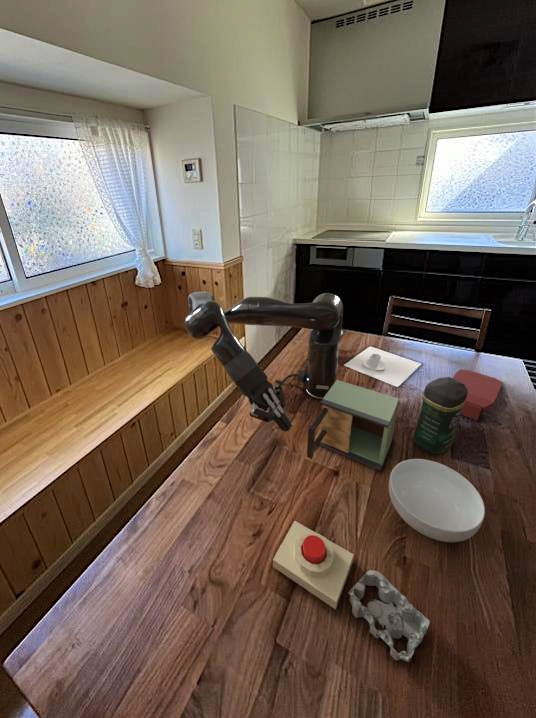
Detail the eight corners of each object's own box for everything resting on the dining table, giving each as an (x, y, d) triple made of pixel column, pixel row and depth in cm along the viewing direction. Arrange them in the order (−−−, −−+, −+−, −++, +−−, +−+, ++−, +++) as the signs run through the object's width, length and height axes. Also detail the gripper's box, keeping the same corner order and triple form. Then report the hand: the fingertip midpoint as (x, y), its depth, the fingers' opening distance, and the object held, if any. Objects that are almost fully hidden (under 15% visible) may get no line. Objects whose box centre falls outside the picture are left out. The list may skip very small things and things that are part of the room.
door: (304, 465, 82) (306, 427, 77) (320, 439, 90) (323, 403, 85) (334, 479, 78) (338, 439, 73) (348, 451, 86) (353, 413, 81)
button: (298, 555, 61) (299, 549, 60) (308, 537, 64) (308, 530, 63) (319, 568, 59) (320, 562, 58) (328, 549, 61) (329, 542, 61)
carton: (457, 380, 118) (437, 405, 101) (461, 367, 117) (441, 391, 100) (499, 394, 111) (485, 423, 93) (503, 380, 109) (490, 408, 92)
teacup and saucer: (370, 356, 129) (371, 347, 127) (391, 364, 124) (392, 354, 122) (359, 365, 124) (360, 356, 122) (379, 373, 118) (381, 364, 117)
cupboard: (317, 444, 89) (320, 402, 84) (333, 419, 98) (336, 379, 92) (380, 471, 81) (388, 425, 75) (391, 441, 89) (399, 398, 84)
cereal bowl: (441, 573, 60) (449, 548, 57) (368, 501, 74) (372, 478, 71) (495, 528, 67) (504, 504, 64) (419, 469, 81) (424, 447, 78)
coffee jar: (437, 460, 83) (453, 399, 75) (407, 441, 89) (419, 382, 82) (458, 444, 87) (476, 384, 80) (429, 426, 94) (442, 370, 86)
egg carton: (342, 604, 57) (344, 589, 55) (370, 575, 60) (372, 561, 59) (402, 674, 49) (406, 659, 47) (429, 636, 52) (434, 621, 51)
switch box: (272, 566, 62) (272, 553, 61) (294, 527, 69) (294, 514, 68) (335, 609, 56) (337, 595, 54) (352, 561, 63) (354, 548, 61)
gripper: (250, 366, 91) (290, 418, 89) (221, 391, 81) (265, 450, 79) (267, 354, 86) (310, 409, 84) (238, 379, 76) (285, 442, 74)
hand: (288, 429), depth 82 cm, fingers closed
